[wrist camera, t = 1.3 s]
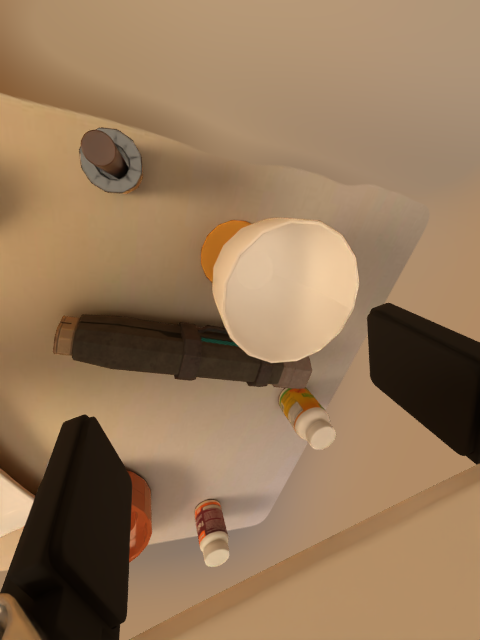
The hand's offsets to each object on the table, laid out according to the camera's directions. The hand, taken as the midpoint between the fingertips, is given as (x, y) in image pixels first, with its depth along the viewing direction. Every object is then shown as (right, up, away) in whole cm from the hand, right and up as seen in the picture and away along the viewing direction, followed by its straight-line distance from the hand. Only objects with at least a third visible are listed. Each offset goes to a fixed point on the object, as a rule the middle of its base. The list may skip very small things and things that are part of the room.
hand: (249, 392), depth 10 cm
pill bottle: (-6, -31, +44) cm, 55 cm away
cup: (-1, +10, +29) cm, 31 cm away
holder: (-13, +18, +22) cm, 31 cm away
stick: (-13, +18, +21) cm, 30 cm away
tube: (-7, 0, +31) cm, 32 cm away
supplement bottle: (+8, -10, +40) cm, 42 cm away
